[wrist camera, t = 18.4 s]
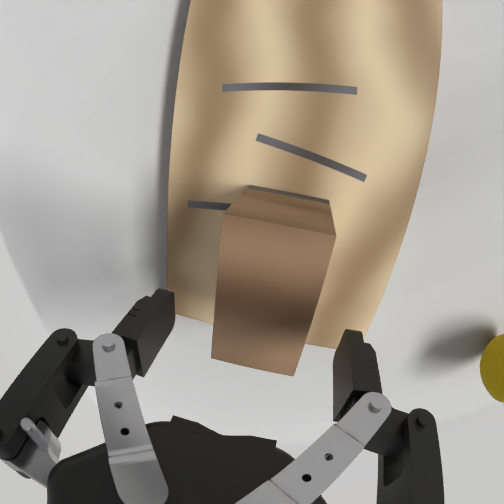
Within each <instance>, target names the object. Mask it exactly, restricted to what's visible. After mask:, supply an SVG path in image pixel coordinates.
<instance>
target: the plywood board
mask: <svg viewBox="0 0 504 504" xmlns="http://www.w3.org/2000/svg"><path fill="white" fill-rule="evenodd" d="M441 42H442V0H191V2H190V7H189V12H188V17H187V22H186V28H185V34H184V40H183V46H182V52H181V59H180V66H179V73H178V81H177V89H176V98H175V107H174V116H173V127H172V139H171V152H170V167H169V186H168V212H167V291H171V292H174V295H175V314H178V315H181V316H185V317H189V318H193V319H196V320H200V321H204V322H208V323H212V324H213V323H214V309H215V297H216V284H217V272H218V261H219V250H220V239H221V229H222V219H223V213H224V212H225V211H226V210H227V209H228V208H229V207H230V206H231V204H232V203H233V202H234V201H235V200H236V199H237V198H238V197H239V196H240V195H241V194H242V192H243V191H244V190H245V189H246V188H247V187H248V186H249V185H254V186H259V187H265V188H271V189H276V190H281V191H287V192H292V193H297V194H302V195H307V196H312V197H317V198H322V199H326V200H329V202H330V207H331V211H332V216H333V221H334V226H335V231H336V240H335V244H334V248H333V251H332V255H331V259H330V262H329V266H328V270H327V273H326V277H325V280H324V284H323V287H322V290H321V294H320V297H319V301H318V304H317V307H316V310H315V314H314V317H313V320H312V323H311V326H310V329H309V332H308V335H307V338H306V341H305V344H310V345H315V346H321V347H327V348H333V349H337V347H338V345H339V343H340V340H341V338H342V335H343V333H344V331H345V329H350V330H356V331H361V332H362V334H363V340H364V338H365V336H366V334H367V331H368V329H369V327H370V325H371V322H372V320H373V318H374V315H375V313H376V311H377V308H378V306H379V303H380V301H381V299H382V296H383V294H384V291H385V289H386V286H387V283H388V281H389V278H390V275H391V273H392V270H393V267H394V264H395V262H396V259H397V256H398V253H399V250H400V247H401V244H402V241H403V238H404V235H405V232H406V229H407V226H408V222H409V219H410V216H411V212H412V209H413V205H414V202H415V198H416V194H417V190H418V187H419V183H420V179H421V175H422V170H423V166H424V162H425V157H426V153H427V148H428V143H429V138H430V133H431V127H432V121H433V115H434V109H435V102H436V95H437V87H438V79H439V69H440V58H441Z"/></svg>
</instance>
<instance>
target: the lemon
mask: <svg viewBox="0 0 504 504" xmlns="http://www.w3.org/2000/svg"><path fill="white" fill-rule="evenodd" d="M480 373H481V378H482V381H483V384H484V386H485V387H486V389H487V391H488V392H489V394H490V395H491V396H492V397H493V398H494V399H496V400H498V401H500V402H504V334H502V335H499V336H497V337H495V338H493V339H492V340H491V341H490V342H489V344H488V345H487V346H486V348H485V349H484V351H483V354H482V357H481V361H480Z"/></svg>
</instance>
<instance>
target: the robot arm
mask: <svg viewBox="0 0 504 504" xmlns="http://www.w3.org/2000/svg"><path fill="white" fill-rule="evenodd" d="M174 323H175V295H174V292H171V291H167V290H163V289H157V290H156V291H155V293H154V294H153V295H152V296H151V297H149V296H145V297H144V298H142V299H140V300H138V301H137V302H136V303H135V305H134V306H133V307H132V309H130V311H129V312H128V314H126V316H125V317H124V318H123V319H122V321H121V322H120V323H119V324H118V326H117V327H116V328H115V329H114V331H113V332H112V333H106V334H102V335H100V336H98V337H97V338H96V339H95V340H94V341H92V340H82V339H78V338H77V335H76V333H75V332H74V331H73V330H71V329H67V328H63V329H59V330H56V331H55V332H53V333H52V334H51V335H50V336H49V338H48V339H47V340H46V341H45V342H44V344H43V345H42V346H41V347H40V349H39V350H38V351H37V352H36V353H35V355H34V356H33V357H32V358H31V360H30V361H29V362H28V364H27V365H26V366H25V368H24V369H23V370H22V371H21V373H20V374H19V375H18V376H17V378H16V379H15V380H14V382H13V383H12V384H11V386H10V387H9V389H8V390H7V391H6V393H5V394H4V395H3V397H2V398H1V400H0V459H1V460H2V461H3V462H4V463H5V464H7V465H8V466H9V467H10V468H12V469H13V470H15V471H16V472H18V473H19V474H20V475H22V476H23V477H25V478H29V479H30V478H32V479H33V480H35V481H36V482H38V483H40V484H41V485H43V486H44V487H46V488H47V504H327V503H326V501H325V500H324V499H323V497H322V496H321V494H322V493H323V492H324V491H325V490H326V489H327V488H328V487H329V486H330V485H331V484H332V483H333V482H334V481H335V480H336V479H337V477H339V476H340V474H341V473H342V472H343V471H344V470H345V469H346V468H347V467H348V466H349V464H351V462H352V461H353V460H354V459H355V458H356V457H357V455H358V454H359V453H360V452H361V451H362V450H363V449H366V450H369V451H371V452H374V453H377V454H378V487H377V488H378V489H377V504H444V487H443V474H442V464H441V456H440V448H439V440H438V434H437V427H436V421H435V418H434V417H433V415H432V414H431V413H430V412H429V411H427V410H425V409H421V408H418V409H414V410H412V411H411V412H410V413H409V414H408V413H405V412H402V411H399V410H396V409H394V408H392V407H391V403H390V401H389V400H388V399H387V398H386V397H385V396H384V395H383V394H382V388H381V381H380V375H379V369H378V363H377V358H376V352H375V351H374V349H373V348H372V346H371V345H370V344H369V343H364V340H363V334H362V332H361V331H356V330H350V329H345V331H344V333H343V335H342V338H341V340H340V343H339V345H338V347H337V350H336V352H335V355H334V359H333V421H335V422H338V423H337V424H334V425H332V426H331V427H330V428H329V429H328V430H327V431H326V432H325V433H324V434H323V435H322V436H321V437H320V438H319V439H318V440H317V441H315V442H314V443H313V444H312V445H311V446H310V447H309V448H308V449H307V450H305V451H304V452H303V453H302V454H301V455H300V456H299V457H298V458H296V459H294V458H293V457H292V456H291V455H289V454H288V453H286V452H285V451H283V450H281V449H279V448H276V442H277V440H271V439H265V438H260V437H255V436H225V435H221V434H218V433H216V432H214V431H212V430H210V429H209V428H207V427H205V426H203V425H201V424H199V423H197V422H193V421H190V420H187V419H183V418H180V417H177V416H174V415H173V417H172V419H171V421H170V422H169V421H160V422H153V423H148V424H145V422H144V419H143V416H142V412H141V409H140V406H139V402H138V399H137V395H136V391H135V387H134V384H133V379H134V377H135V375H139V376H141V377H144V376H145V374H146V373H147V371H148V369H149V368H150V366H151V364H152V363H153V361H154V359H155V357H156V356H157V354H158V352H159V351H160V349H161V347H162V346H163V344H164V342H165V341H166V339H167V337H168V336H169V334H170V332H171V331H172V329H173V326H174ZM88 386H95V389H96V396H97V402H98V408H99V413H100V419H101V424H102V428H103V433H104V438H105V443H103V444H100V445H98V446H96V447H93V448H91V449H88V450H86V451H84V452H81V453H78V454H76V455H73V456H70V457H68V458H65V459H63V460H61V461H59V455H60V452H61V445H60V442H59V440H58V437H59V436H60V434H61V432H62V430H63V428H64V427H65V425H66V423H67V421H68V419H69V418H70V416H71V414H72V413H73V411H74V409H75V407H76V406H77V404H78V402H79V401H80V399H81V397H82V396H83V394H84V392H85V391H86V389H87V387H88Z"/></svg>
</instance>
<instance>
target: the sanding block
mask: <svg viewBox="0 0 504 504" xmlns="http://www.w3.org/2000/svg"><path fill="white" fill-rule="evenodd" d="M335 240H336V231H335V226H334V221H333V216H332V211H331V207H330V202H329V200H326V199H322V198H317V197H312V196H307V195H302V194H297V193H292V192H287V191H281V190H276V189H271V188H265V187H259V186H254V185H249V186H248V187H247V188H246V189H245V190H244V191H243V192H242V194H241V195H240V196H239V197H238V198H237V199H236V200H235V201H234V202H233V203H232V204H231V206H230V207H229V208H228V209H227V210H226V211H225V212H224V213H223V219H222V229H221V239H220V250H219V261H218V272H217V284H216V297H215V309H214V323H213V337H212V352H211V358H213V359H217V360H220V361H224V362H229V363H233V364H237V365H241V366H245V367H250V368H254V369H259V370H264V371H268V372H273V373H278V374H284V375H289V376H294V373H295V371H296V368H297V365H298V362H299V359H300V356H301V353H302V350H303V347H304V344H305V341H306V338H307V335H308V332H309V329H310V326H311V323H312V320H313V317H314V314H315V310H316V307H317V304H318V301H319V297H320V294H321V290H322V287H323V284H324V280H325V277H326V273H327V270H328V266H329V262H330V259H331V255H332V251H333V248H334V244H335Z"/></svg>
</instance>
